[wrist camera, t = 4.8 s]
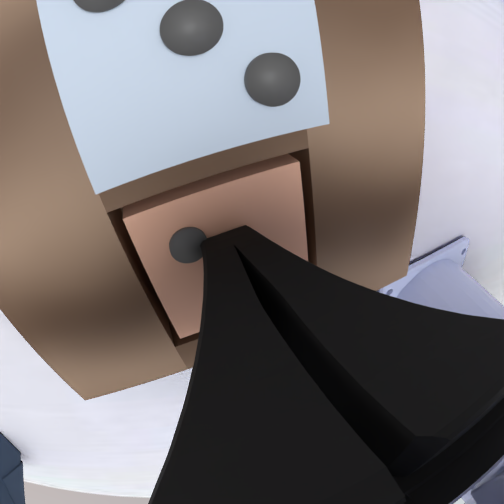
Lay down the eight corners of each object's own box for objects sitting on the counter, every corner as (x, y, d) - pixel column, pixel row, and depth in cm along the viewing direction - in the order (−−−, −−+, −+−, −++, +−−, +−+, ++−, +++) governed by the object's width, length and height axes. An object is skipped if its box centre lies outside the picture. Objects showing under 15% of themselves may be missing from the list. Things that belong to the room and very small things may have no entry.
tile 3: (286, 106, 8) (333, 125, 6) (103, 161, 7) (95, 197, 5) (256, -61, 5) (299, -90, 3) (54, -17, 4) (27, -42, 2)
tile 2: (285, 256, 12) (311, 291, 11) (170, 298, 12) (181, 342, 10) (269, 141, 10) (302, 162, 8) (122, 188, 9) (123, 222, 7)
